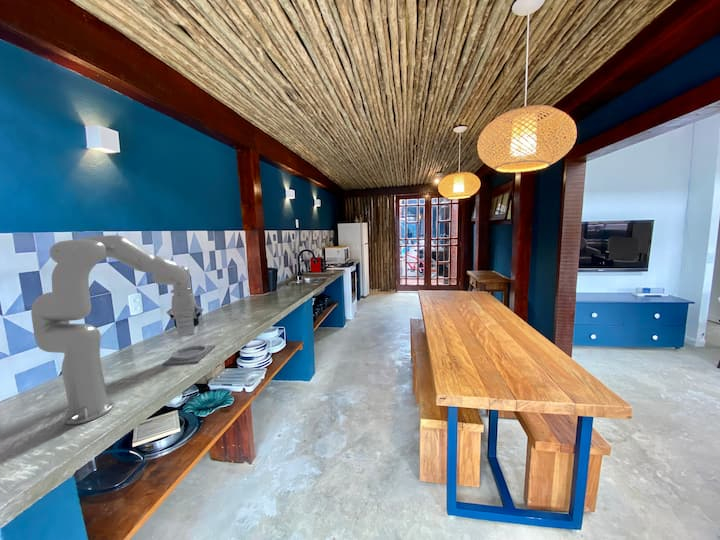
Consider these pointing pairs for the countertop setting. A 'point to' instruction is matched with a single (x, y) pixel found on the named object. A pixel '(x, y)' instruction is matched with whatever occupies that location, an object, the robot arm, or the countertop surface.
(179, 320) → the supplement box
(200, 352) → the steel ring
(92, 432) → the countertop surface
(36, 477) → the countertop surface
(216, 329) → the countertop surface
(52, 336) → the robot arm
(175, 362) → the slate board
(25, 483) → the countertop surface
